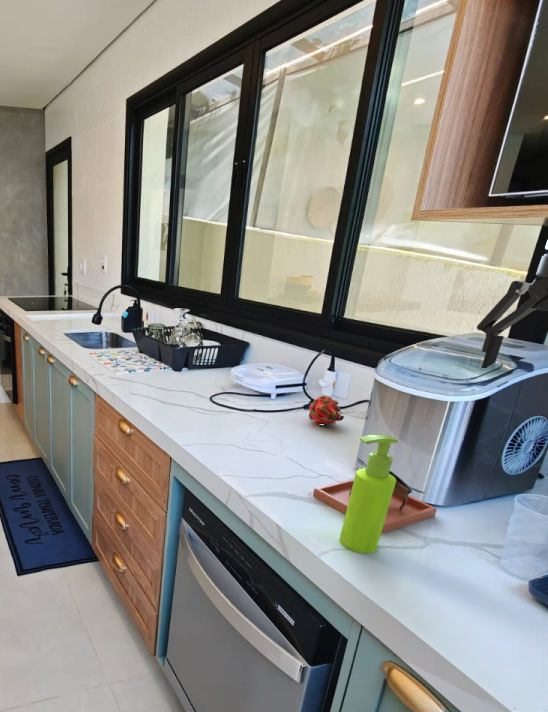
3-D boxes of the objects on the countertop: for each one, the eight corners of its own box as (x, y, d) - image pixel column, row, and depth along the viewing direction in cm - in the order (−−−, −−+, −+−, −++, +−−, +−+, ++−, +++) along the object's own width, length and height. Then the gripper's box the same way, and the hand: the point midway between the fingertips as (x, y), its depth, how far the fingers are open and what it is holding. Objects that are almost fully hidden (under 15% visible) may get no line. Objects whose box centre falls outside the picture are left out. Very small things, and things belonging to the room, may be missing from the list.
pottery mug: (349, 488, 107) (378, 460, 103) (387, 520, 103) (419, 492, 99) (338, 495, 97) (370, 464, 94) (380, 531, 93) (415, 500, 90)
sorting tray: (434, 516, 97) (437, 508, 96) (381, 534, 90) (383, 525, 90) (363, 482, 110) (365, 475, 109) (312, 496, 103) (314, 488, 103)
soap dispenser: (327, 535, 90) (352, 430, 82) (363, 533, 90) (391, 429, 83) (345, 554, 84) (374, 443, 77) (384, 552, 85) (416, 443, 77)
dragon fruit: (315, 420, 152) (329, 440, 142) (296, 404, 150) (309, 424, 140) (338, 401, 149) (354, 420, 138) (319, 384, 146) (333, 402, 136)
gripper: (478, 250, 91) (444, 365, 99) (669, 256, 70) (606, 401, 78) (501, 250, 94) (466, 362, 102) (690, 257, 73) (628, 396, 81)
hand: (527, 379), depth 90 cm, fingers open, 13 cm apart
